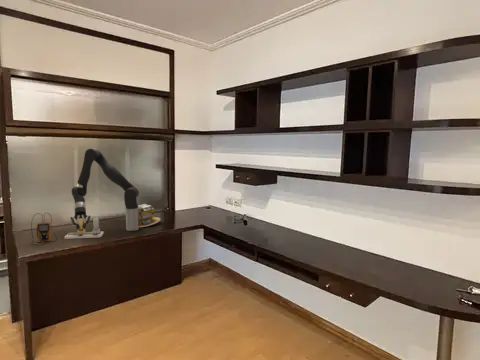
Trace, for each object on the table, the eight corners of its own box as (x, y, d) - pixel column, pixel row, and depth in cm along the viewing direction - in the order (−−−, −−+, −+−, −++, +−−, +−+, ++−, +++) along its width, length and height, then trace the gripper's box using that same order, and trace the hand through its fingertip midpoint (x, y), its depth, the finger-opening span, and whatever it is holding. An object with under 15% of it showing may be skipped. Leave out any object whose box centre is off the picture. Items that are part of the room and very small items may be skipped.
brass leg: (85, 232, 239) (84, 218, 238) (83, 235, 234) (82, 220, 232) (78, 232, 238) (78, 218, 237) (76, 235, 233) (75, 220, 231)
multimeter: (29, 246, 214) (27, 216, 211) (32, 241, 223) (31, 213, 221) (55, 243, 219) (53, 214, 217) (57, 239, 228) (55, 211, 226)
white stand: (103, 233, 245) (102, 216, 243) (100, 237, 235) (100, 219, 234) (68, 234, 240) (68, 217, 238) (64, 238, 230) (63, 221, 229)
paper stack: (132, 229, 257) (131, 208, 255) (128, 222, 280) (127, 203, 278) (163, 226, 268) (162, 206, 266) (157, 219, 290) (156, 201, 288)
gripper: (69, 207, 238) (70, 227, 229) (90, 205, 244) (92, 225, 235) (69, 212, 243) (70, 232, 234) (90, 211, 250) (91, 230, 240)
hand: (81, 228), depth 235 cm, fingers closed on brass leg, 3 cm apart
